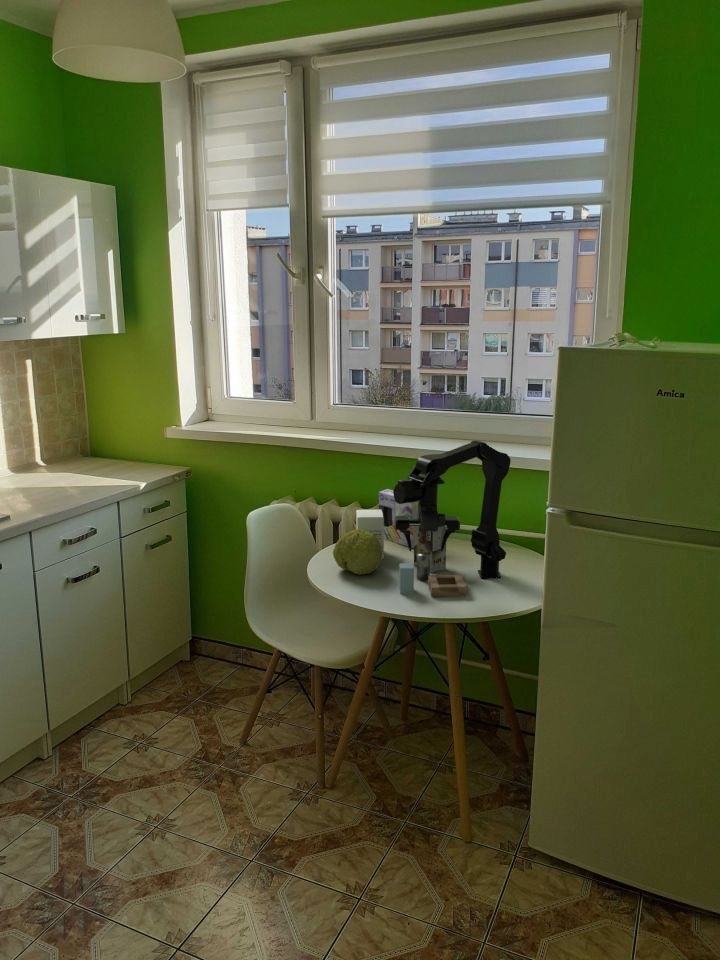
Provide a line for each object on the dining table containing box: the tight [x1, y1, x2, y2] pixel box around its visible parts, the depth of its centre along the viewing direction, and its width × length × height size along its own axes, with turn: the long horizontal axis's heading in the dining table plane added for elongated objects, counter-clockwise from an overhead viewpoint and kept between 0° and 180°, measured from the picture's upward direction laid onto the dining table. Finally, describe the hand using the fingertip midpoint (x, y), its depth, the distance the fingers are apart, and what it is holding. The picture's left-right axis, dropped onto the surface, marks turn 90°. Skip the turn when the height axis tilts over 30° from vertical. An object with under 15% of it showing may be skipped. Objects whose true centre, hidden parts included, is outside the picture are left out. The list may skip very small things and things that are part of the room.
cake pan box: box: [377, 488, 418, 549], centre depth 273 cm, size 19×5×18 cm, turn 38°
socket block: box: [427, 574, 467, 598], centre depth 231 cm, size 10×10×3 cm
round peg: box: [416, 552, 431, 582], centre depth 240 cm, size 4×4×8 cm
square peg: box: [398, 562, 415, 595], centre depth 230 cm, size 4×4×8 cm
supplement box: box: [355, 509, 385, 560], centre depth 260 cm, size 9×9×15 cm
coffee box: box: [413, 518, 447, 573], centre depth 248 cm, size 9×6×16 cm
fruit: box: [332, 528, 383, 576], centre depth 245 cm, size 16×14×15 cm
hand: (425, 550), depth 227 cm, fingers open, 9 cm apart
